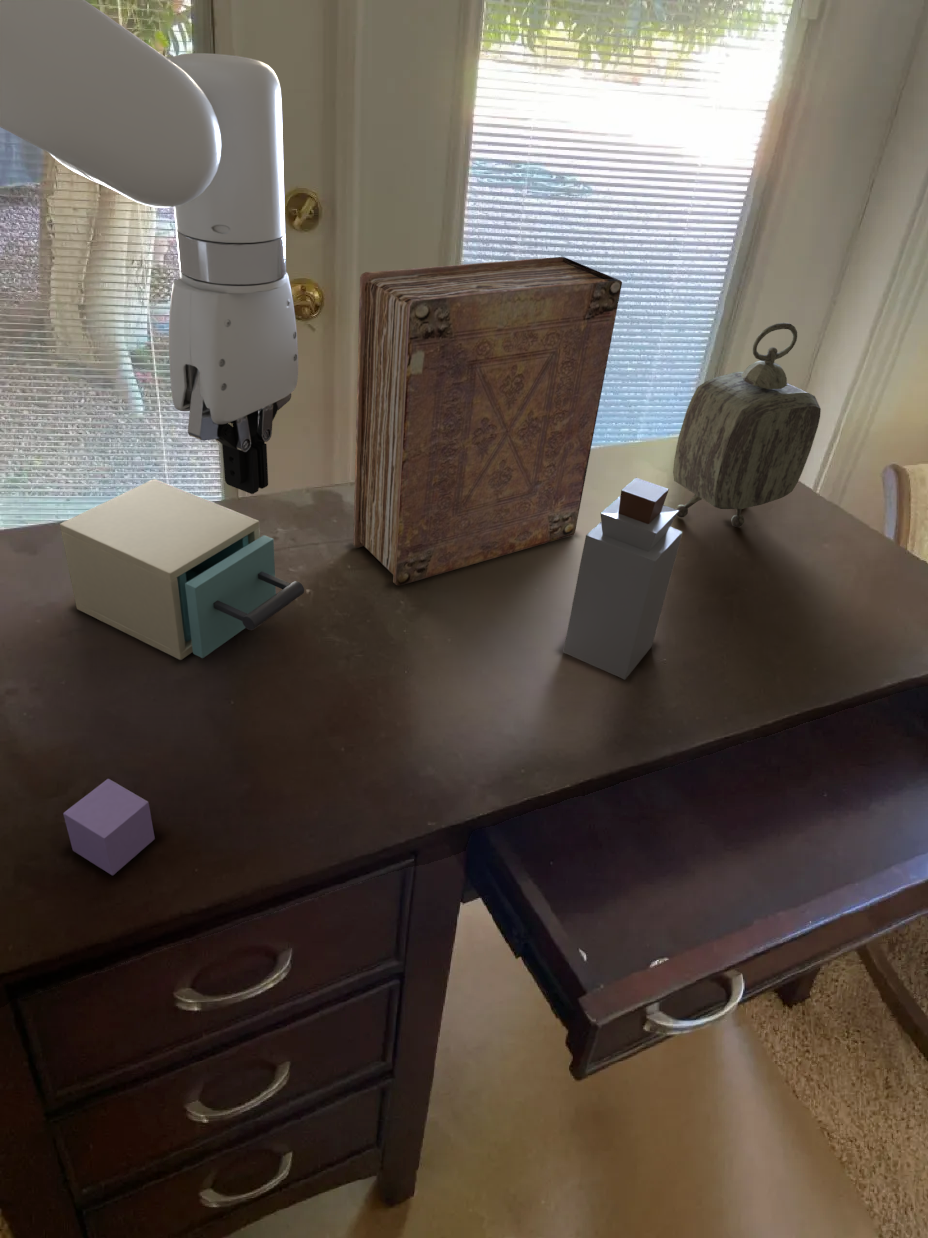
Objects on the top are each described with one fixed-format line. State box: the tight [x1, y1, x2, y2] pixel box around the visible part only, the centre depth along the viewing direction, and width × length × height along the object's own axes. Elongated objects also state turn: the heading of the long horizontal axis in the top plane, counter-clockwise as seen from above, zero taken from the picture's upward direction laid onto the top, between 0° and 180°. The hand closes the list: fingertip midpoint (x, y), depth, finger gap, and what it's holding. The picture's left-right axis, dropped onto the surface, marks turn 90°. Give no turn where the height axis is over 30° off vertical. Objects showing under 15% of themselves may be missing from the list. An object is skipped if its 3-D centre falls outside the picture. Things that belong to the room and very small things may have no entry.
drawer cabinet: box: [59, 478, 261, 661], centre depth 86 cm, size 14×12×10 cm
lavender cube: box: [62, 778, 156, 877], centre depth 63 cm, size 4×4×4 cm
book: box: [352, 256, 623, 586], centre depth 95 cm, size 25×9×30 cm, turn 124°
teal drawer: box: [177, 534, 305, 659], centre depth 84 cm, size 17×10×8 cm, turn 60°
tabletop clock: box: [672, 322, 822, 528], centre depth 107 cm, size 14×9×25 cm, turn 122°
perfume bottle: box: [562, 477, 684, 680], centre depth 84 cm, size 7×7×18 cm
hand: (246, 485), depth 75 cm, fingers closed
